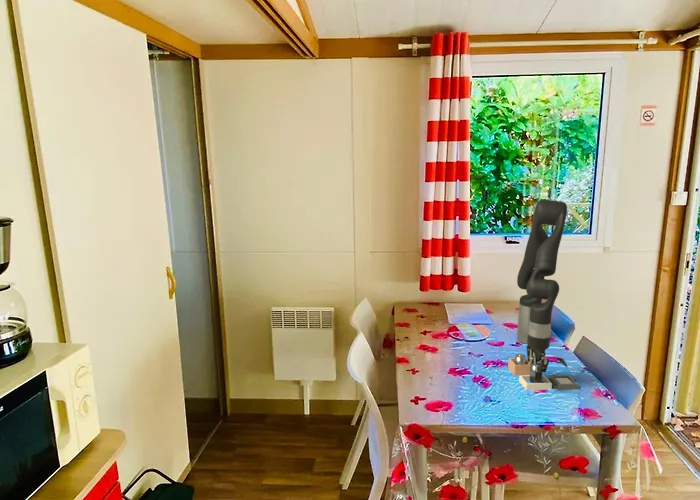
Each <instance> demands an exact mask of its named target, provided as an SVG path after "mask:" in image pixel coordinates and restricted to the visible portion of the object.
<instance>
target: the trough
mask: <svg viewBox="0 0 700 500" xmlns="http://www.w3.org/2000/svg"><path fill="white" fill-rule="evenodd" d="M529 378H530V375H523V376H518V382H519V383H520V384H521V386H522V387H523V388H524V389H525V390H526V391H537V390H538V391H540V390H544V391H545V390H552V388H553V387H552V386H553V385H552V383H551V382H550V381H549V380H550V379H548V378H547V376H546V375H544V374H542V380H541V383H532V382H530V381H529Z"/></svg>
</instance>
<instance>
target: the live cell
mask: <svg viewBox="0 0 700 500" xmlns="http://www.w3.org/2000/svg"><path fill="white" fill-rule="evenodd" d="M538 368H539V366H538ZM535 371H536V367H535V365H534V362H533V363H531V365H530V378H529V381H530V382H529V383H542V381H535Z"/></svg>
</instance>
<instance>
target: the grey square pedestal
mask: <svg viewBox="0 0 700 500" xmlns="http://www.w3.org/2000/svg"><path fill="white" fill-rule="evenodd" d="M555 378H568V379H569V380H570V381H571V382H572V384H560V383H559V382H558V381H557V380H556V379H555ZM548 380H549V381H550V382H551V383H552V386H553V387H554V388H555V389H556V390H557V391H563V390H565V391H566V390H568V391H569V390H572V391H573V390H580V387H579V383H577V381H575V379H573V378H572V377H571V376H570V375H567V374H566V375H550V376H549V379H548Z"/></svg>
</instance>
